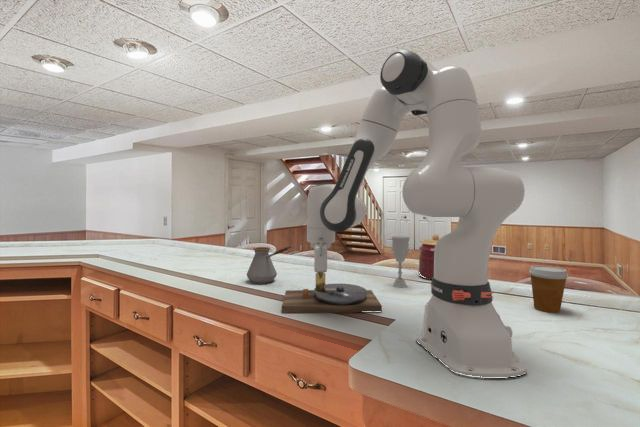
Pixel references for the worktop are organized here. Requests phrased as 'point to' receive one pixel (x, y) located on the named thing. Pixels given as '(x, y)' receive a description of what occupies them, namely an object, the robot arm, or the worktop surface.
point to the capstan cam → (338, 292)
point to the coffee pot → (263, 265)
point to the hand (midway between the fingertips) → (320, 280)
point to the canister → (427, 257)
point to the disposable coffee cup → (548, 287)
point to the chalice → (400, 255)
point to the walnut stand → (308, 304)
